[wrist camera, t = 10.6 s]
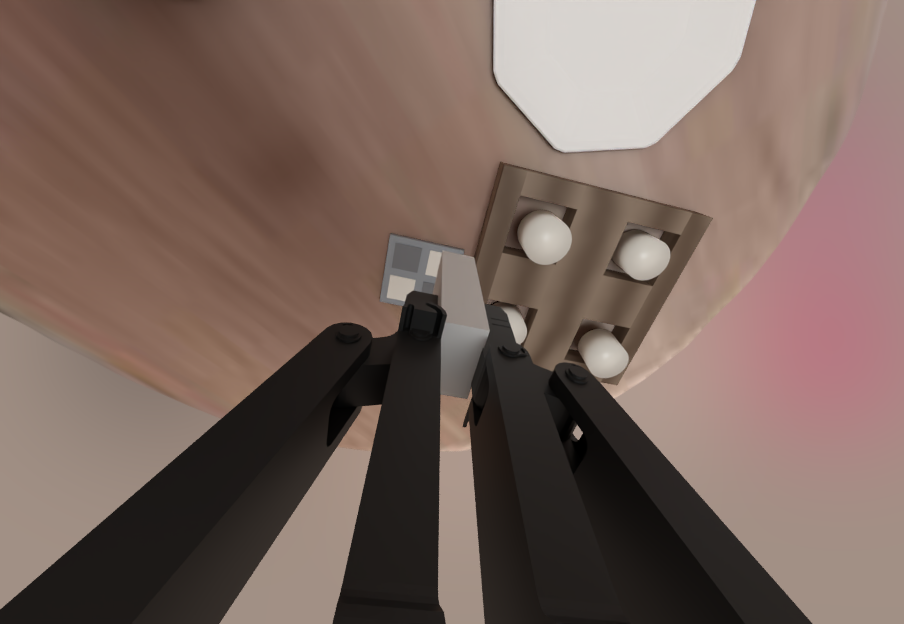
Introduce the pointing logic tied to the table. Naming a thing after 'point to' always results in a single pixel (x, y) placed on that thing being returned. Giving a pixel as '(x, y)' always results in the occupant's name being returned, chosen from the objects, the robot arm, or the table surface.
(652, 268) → the button
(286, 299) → the table surface
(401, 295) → the card
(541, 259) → the button
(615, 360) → the button
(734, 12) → the plate
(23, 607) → the robot arm
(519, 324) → the button
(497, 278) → the board
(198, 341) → the table surface
